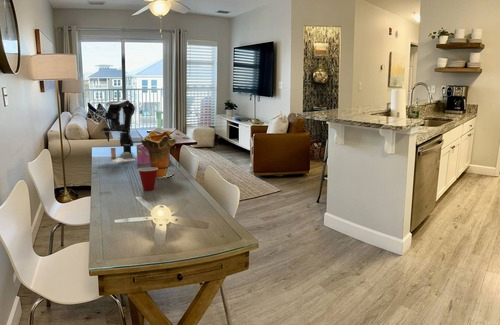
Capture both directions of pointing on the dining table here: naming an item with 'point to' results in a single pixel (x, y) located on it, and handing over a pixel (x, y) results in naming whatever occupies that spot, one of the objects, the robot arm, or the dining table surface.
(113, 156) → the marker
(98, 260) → the dining table surface
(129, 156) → the square board tray
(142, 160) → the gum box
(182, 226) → the dining table surface
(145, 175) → the plastic cup
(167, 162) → the decorative vase
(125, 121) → the robot arm
